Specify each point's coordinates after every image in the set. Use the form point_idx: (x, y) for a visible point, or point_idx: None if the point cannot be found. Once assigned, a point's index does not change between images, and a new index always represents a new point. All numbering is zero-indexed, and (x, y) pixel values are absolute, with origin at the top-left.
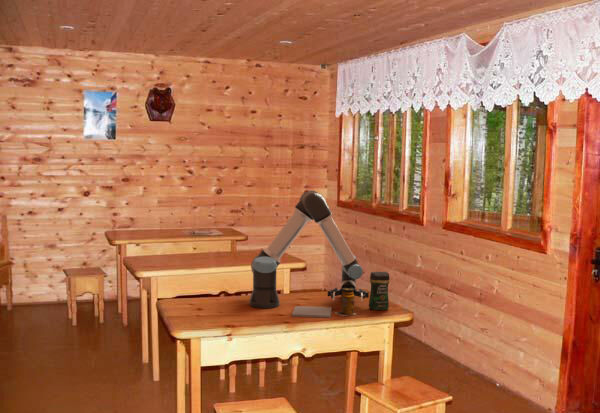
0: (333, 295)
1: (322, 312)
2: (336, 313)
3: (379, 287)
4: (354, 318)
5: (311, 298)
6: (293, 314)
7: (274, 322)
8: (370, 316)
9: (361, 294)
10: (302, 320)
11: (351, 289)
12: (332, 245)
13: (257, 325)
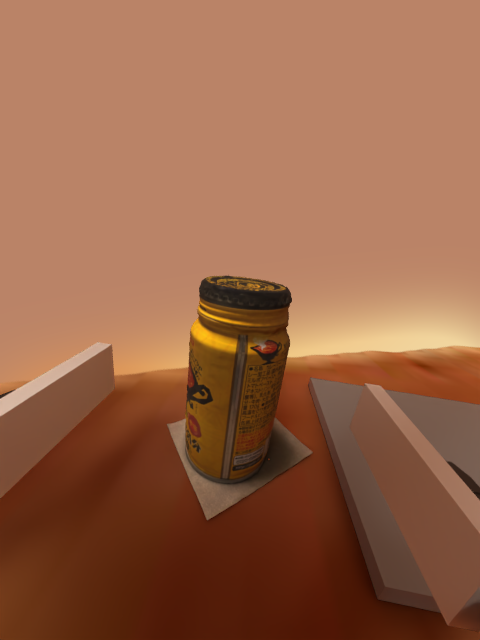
0: (372, 389)
1: None
2: (294, 439)
3: None
4: None
5: None
6: (473, 404)
7: (453, 367)
8: (116, 388)
9: (62, 373)
10: (390, 373)
11: (218, 280)
12: None
13: (465, 355)
